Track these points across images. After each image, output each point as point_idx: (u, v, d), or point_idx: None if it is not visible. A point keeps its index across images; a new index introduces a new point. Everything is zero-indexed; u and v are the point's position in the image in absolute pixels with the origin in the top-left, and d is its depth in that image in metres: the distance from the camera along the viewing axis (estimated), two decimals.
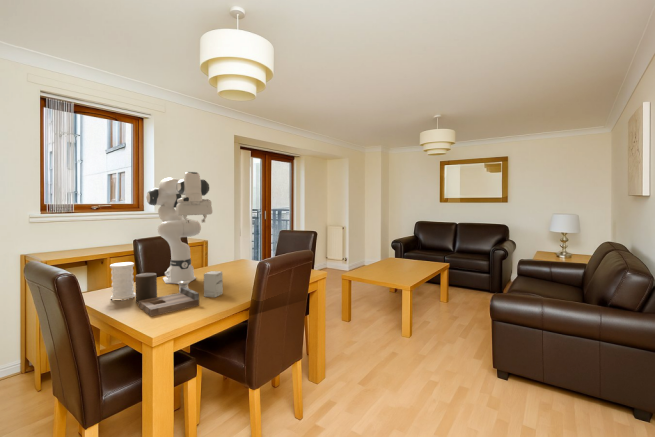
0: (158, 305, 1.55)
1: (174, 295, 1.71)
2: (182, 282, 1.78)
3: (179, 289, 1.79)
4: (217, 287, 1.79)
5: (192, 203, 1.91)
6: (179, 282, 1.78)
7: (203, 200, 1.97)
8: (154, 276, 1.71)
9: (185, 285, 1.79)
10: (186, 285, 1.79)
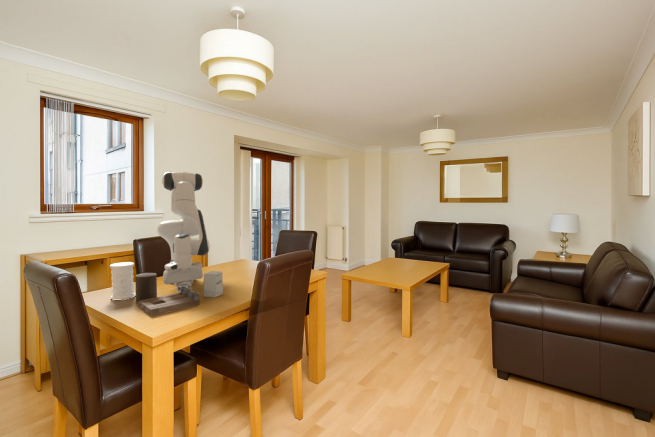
0: (158, 305, 1.55)
1: (174, 295, 1.71)
2: (182, 282, 1.78)
3: None
4: (217, 287, 1.79)
5: (181, 270, 1.76)
6: (179, 282, 1.78)
7: (193, 264, 1.83)
8: (154, 276, 1.71)
9: (185, 285, 1.79)
10: (186, 285, 1.79)
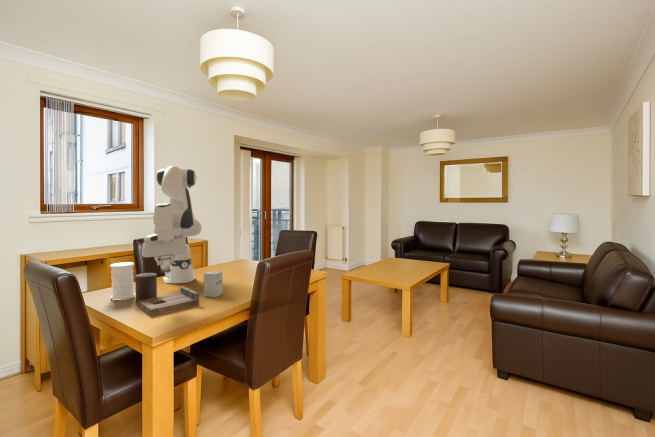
0: (158, 305, 1.55)
1: (174, 295, 1.71)
2: (163, 256, 1.62)
3: None
4: (217, 287, 1.79)
5: (162, 242, 1.61)
6: (160, 256, 1.62)
7: (176, 237, 1.67)
8: (154, 276, 1.71)
9: (167, 259, 1.63)
10: (168, 259, 1.63)
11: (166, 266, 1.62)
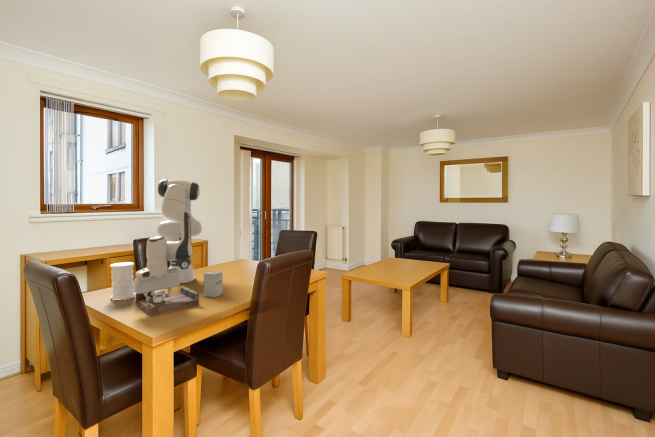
0: (158, 305, 1.55)
1: (174, 295, 1.71)
2: (156, 293, 1.57)
3: (153, 301, 1.59)
4: (217, 287, 1.79)
5: (154, 277, 1.56)
6: (153, 293, 1.57)
7: (169, 270, 1.62)
8: None
9: (159, 296, 1.58)
10: (161, 296, 1.59)
11: (158, 303, 1.58)
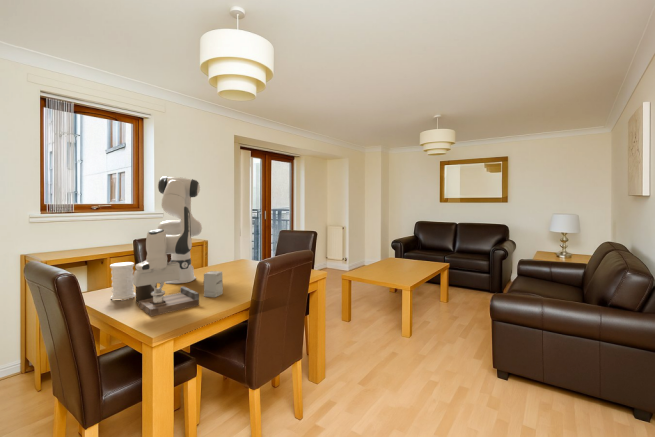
0: (158, 305, 1.55)
1: (174, 295, 1.71)
2: (156, 293, 1.57)
3: (153, 301, 1.59)
4: (217, 287, 1.79)
5: (154, 270, 1.56)
6: (153, 293, 1.57)
7: (169, 263, 1.62)
8: None
9: (159, 296, 1.58)
10: (161, 296, 1.59)
11: (158, 303, 1.58)
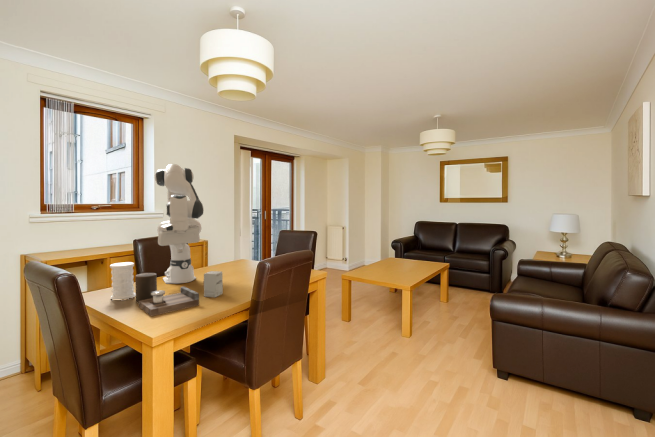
0: (158, 305, 1.55)
1: (174, 295, 1.71)
2: (156, 293, 1.57)
3: (153, 301, 1.59)
4: (217, 287, 1.79)
5: (177, 232, 1.69)
6: (153, 293, 1.57)
7: (190, 227, 1.76)
8: (154, 276, 1.71)
9: (159, 296, 1.58)
10: (161, 296, 1.59)
11: (158, 303, 1.58)
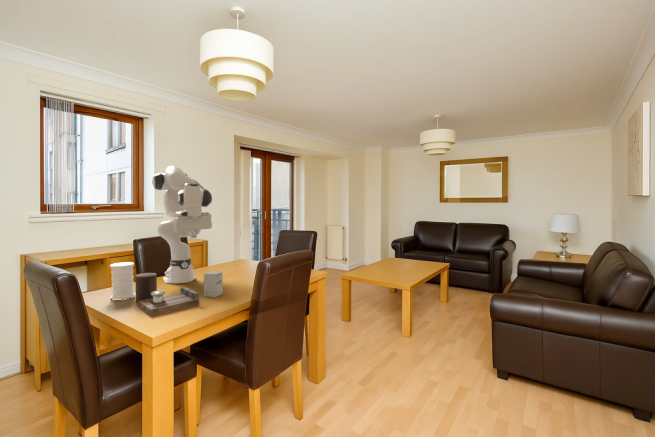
0: (158, 305, 1.55)
1: (174, 295, 1.71)
2: (156, 293, 1.57)
3: (153, 301, 1.59)
4: (217, 287, 1.79)
5: (191, 218, 1.79)
6: (153, 293, 1.57)
7: (203, 214, 1.86)
8: (154, 276, 1.71)
9: (159, 296, 1.58)
10: (161, 296, 1.59)
11: (158, 303, 1.58)
